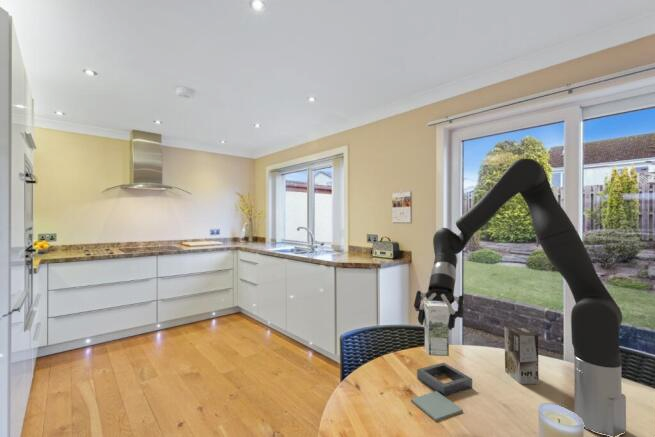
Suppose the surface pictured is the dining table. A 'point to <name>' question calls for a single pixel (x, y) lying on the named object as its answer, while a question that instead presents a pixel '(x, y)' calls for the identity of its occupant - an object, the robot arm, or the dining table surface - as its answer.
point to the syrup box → (436, 328)
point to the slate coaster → (436, 405)
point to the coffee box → (521, 354)
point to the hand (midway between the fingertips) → (435, 325)
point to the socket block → (444, 389)
